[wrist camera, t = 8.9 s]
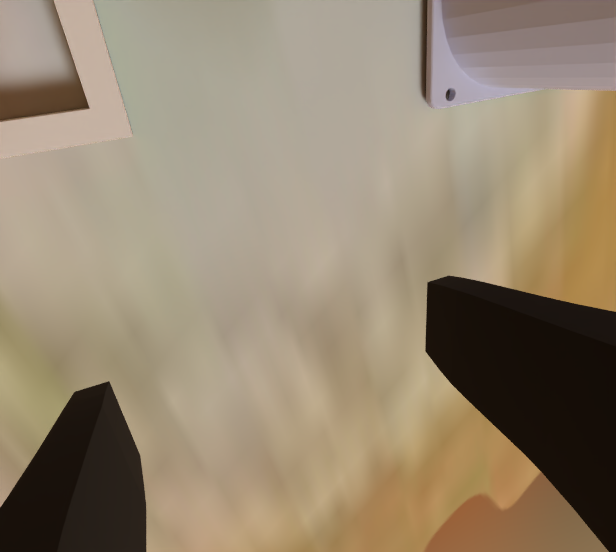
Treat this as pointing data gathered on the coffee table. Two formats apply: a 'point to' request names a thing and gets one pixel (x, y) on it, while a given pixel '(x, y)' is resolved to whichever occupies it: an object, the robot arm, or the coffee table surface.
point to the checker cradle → (97, 87)
